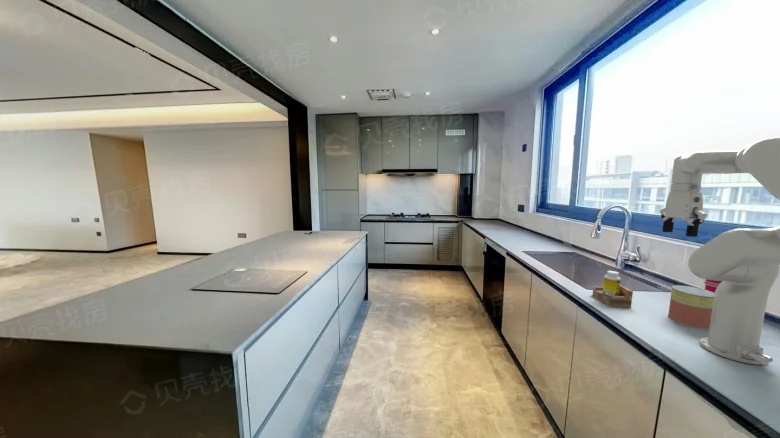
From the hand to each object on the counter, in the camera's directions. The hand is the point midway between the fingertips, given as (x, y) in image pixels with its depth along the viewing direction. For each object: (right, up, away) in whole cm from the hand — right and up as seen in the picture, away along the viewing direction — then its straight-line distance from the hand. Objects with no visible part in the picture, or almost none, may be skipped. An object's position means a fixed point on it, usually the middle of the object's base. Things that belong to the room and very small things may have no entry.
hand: (678, 234), depth 102 cm
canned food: (+3, -33, -1) cm, 33 cm away
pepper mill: (+17, -32, +5) cm, 37 cm away
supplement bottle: (-12, -28, +17) cm, 35 cm away
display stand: (-12, -30, +17) cm, 37 cm away
